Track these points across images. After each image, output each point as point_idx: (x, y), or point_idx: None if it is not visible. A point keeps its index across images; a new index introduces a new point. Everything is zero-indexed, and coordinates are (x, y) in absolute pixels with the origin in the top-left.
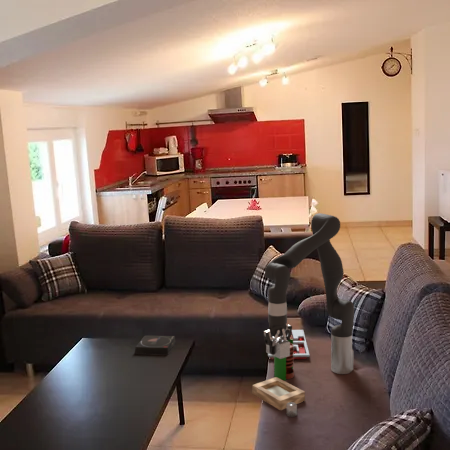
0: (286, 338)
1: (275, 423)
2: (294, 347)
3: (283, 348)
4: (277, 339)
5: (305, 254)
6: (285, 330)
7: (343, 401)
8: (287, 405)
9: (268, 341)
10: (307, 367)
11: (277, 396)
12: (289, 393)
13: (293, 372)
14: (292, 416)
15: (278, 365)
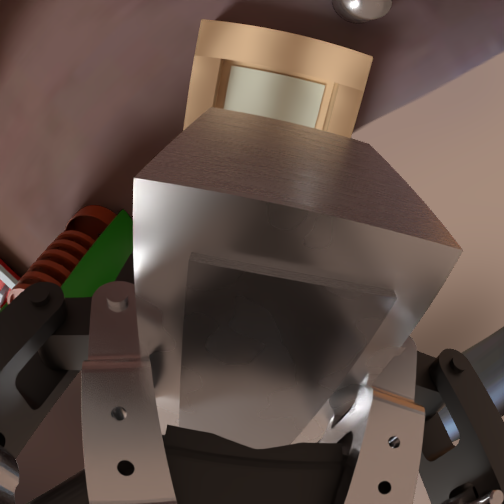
0: (76, 333)
1: (448, 29)
2: None
3: (344, 174)
4: (253, 403)
5: None
6: (22, 446)
7: None
8: (387, 8)
9: (493, 407)
10: (16, 220)
11: (342, 92)
12: (274, 63)
13: (76, 215)
14: None
15: (116, 268)
